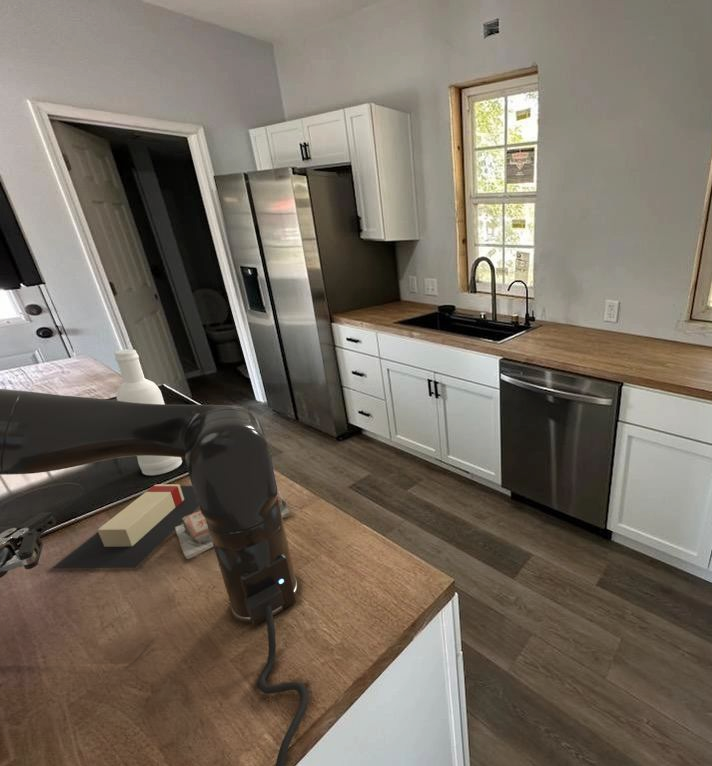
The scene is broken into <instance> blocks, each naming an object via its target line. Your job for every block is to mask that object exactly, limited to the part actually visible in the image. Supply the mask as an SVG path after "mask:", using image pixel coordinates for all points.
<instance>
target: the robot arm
mask: <svg viewBox="0 0 712 766" xmlns="http://www.w3.org/2000/svg"><path fill="white" fill-rule="evenodd" d="M137 456H170V457H181V458H182V459H183V458H184V459H185V465H186V470H187V473H188V477H189V479H190V483H191V486H193V489H194V492H195V495H196V498H197V501H198V504H199V507H198V508H199V511H201V513H202V515H203V516H204V517H205V520H206V523H207V526H208V529H209V532H210V536H211V539H212V543H213V546H214V547H213V548H214V553H215V555H216V559H217V563H218V566H219V570H220V573H221V576H222V580H223V583H224V587H225V590H226V593H227V596H228V600H229V603H230V609H231V612H232V616H234V618H235V619H236V620H238V621H241V622H244V623H252V625H253V626H254V627H256V626H258V625H260V624H262V623H263V622H265V621H266V627H267V639H268V640H267V641H268V643H267V644H268V654H267V660H266V663H265V666H264V669H263V670H262V672H261V673H260V675H259V677H258V680H257V687H258V690H259V691H260V692H262V693H265V694H276V693H281V692H286V691H296V692H297V693H298V695H299V699H300V700H299V706H298V709H297V710H296V713H295V716H294V717H293V719H292V721H291V723H290V725H289V727H288V728H287V731H286V733H285V735H284V737H283V739H282V741H281V744H280V746H279V750H278V754H277V757H276V763H275V766H285V765H286V758H287V753H288V750H289V747H290V745H291V743H292V739H293V738H294V735H295V733H296V731H297V729H298V727H299V725H300V723H301V721H302V719H303V717H304V714H305V712H306V710H307V706H308V703H309V702H308V701H309V696H308V690H307V688H306V685H304V684H303V683H302V682H299V681H288V682H284V683H279V684H278V683H277V684H272V685H271V684H267V682H266V680H267V678H268V676H269V674H270V672H271V670H272V669H273V667H274V664H275V660H276V652H277V641H276V627H275V620H274V616H276V615H278V614H279V613H280V612H282V611H284V610H285V609H287V608H289V607H291V606H292V605H294V604H295V603H296V602H297V599H296V595H297V593H298V587H299V586H298V584H299V583H298V580H297V577H296V575H295V569H294V565H293V561H292V556H291V551H290V546H289V542H288V538H287V533H286V527H285V524H284V518H282V513H281V508H280V504H279V499H278V492H279V490H278V485H277V480H276V475H275V471H274V465H273V459H272V456H271V451H270V446H269V443H268V441H267V438H266V435H265V431H264V429H263V426H262V424H261V422H260V420H259V419H258V417H256V415H254V414H253V412H250V411H248V410H246V409H245V408H242V407H239V406H236V405H230V404H229V405H228V404H170V403H169V404H166V403H165V404H144V403H133V402H124V401H117V399H116V400H115V399H105V398H96V397H86V396H85V397H84V396H74V395H63V394H54V393H45V392H36V391H29V390H28V391H26V390H19V389H7V388H0V475H1V476H2V475H3V476H7V475H8V476H9V475H30V474H41V473H47V472H55V471H60V470H65V469H66V470H67V469H71V468H76V467H80V466H85V465H89V464H94V463H97V462H104V461H108V460H114V459H120V458H127V457H137ZM56 524H57V518H56V516H55V515H54V513H53V512H39V513H37V514H35V516H33V517H31V518H29V519H28V520H26V521H25V522H23V523H22V524H20V525H19V526H17V527H11V528H8V529H6V530H4V531H2V532H1V533H0V579H2V578H3V577H4V576H6V575H7V574H8V572H9V571H11V570H14V569H17V568H21V567H23V568H24V569H25V570H31V569H33V568H35V567H37V566H39V565H38V564H39V561H40V558H41V554H42V550H43V547H44V543H43V541H42V538H41V537H40V536H41V535H42V534H44V533H45V532H47V531H48V530H49V529H51V528H53V527H54V526H55V525H56Z"/></svg>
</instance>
